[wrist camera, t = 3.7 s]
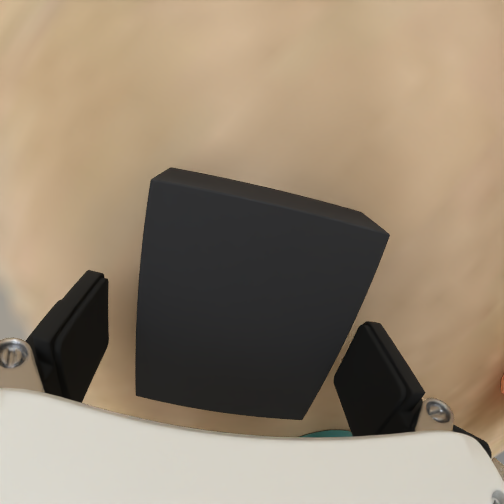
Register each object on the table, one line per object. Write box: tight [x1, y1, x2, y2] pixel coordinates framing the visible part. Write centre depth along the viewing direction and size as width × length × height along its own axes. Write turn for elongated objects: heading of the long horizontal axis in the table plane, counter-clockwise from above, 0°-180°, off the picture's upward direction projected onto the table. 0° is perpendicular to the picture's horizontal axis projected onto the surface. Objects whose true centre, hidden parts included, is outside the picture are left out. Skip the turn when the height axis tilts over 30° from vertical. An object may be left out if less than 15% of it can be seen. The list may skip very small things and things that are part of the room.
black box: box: [136, 168, 390, 420], centre depth 12 cm, size 7×9×3 cm
